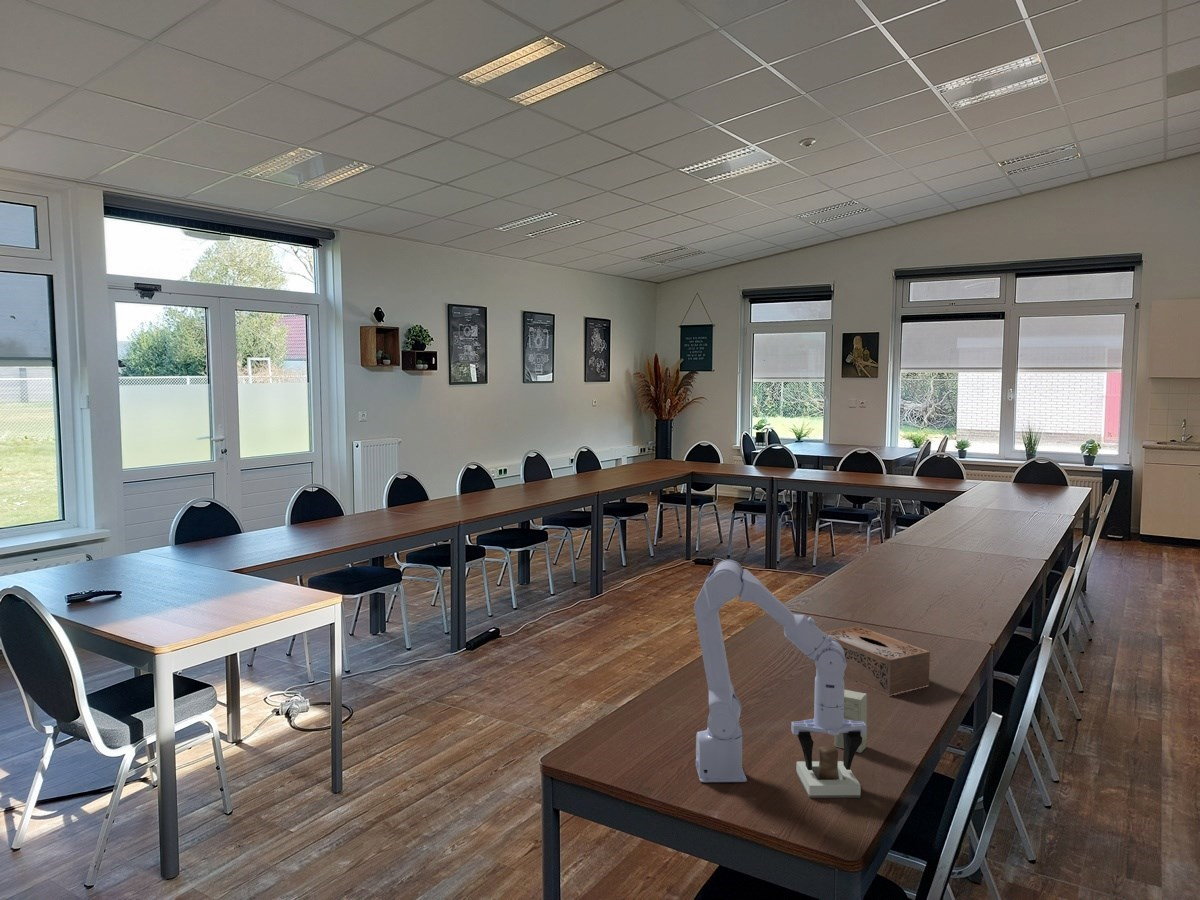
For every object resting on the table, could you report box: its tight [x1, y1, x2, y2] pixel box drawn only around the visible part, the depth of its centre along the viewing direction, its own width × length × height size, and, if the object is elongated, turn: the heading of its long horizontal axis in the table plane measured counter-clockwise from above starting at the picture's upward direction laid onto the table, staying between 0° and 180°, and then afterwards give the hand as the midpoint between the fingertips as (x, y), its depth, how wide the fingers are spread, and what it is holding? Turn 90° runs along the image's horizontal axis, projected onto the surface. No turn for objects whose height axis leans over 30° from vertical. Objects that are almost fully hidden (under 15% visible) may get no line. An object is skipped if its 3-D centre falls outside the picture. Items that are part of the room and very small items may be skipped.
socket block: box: [795, 760, 862, 799], centre depth 161 cm, size 10×10×2 cm
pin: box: [818, 745, 839, 780], centre depth 160 cm, size 4×4×7 cm
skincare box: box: [833, 688, 868, 754], centre depth 178 cm, size 6×4×12 cm
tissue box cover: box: [822, 625, 931, 695], centre depth 221 cm, size 26×14×10 cm, turn 27°
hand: (827, 767), depth 161 cm, fingers open, 7 cm apart
